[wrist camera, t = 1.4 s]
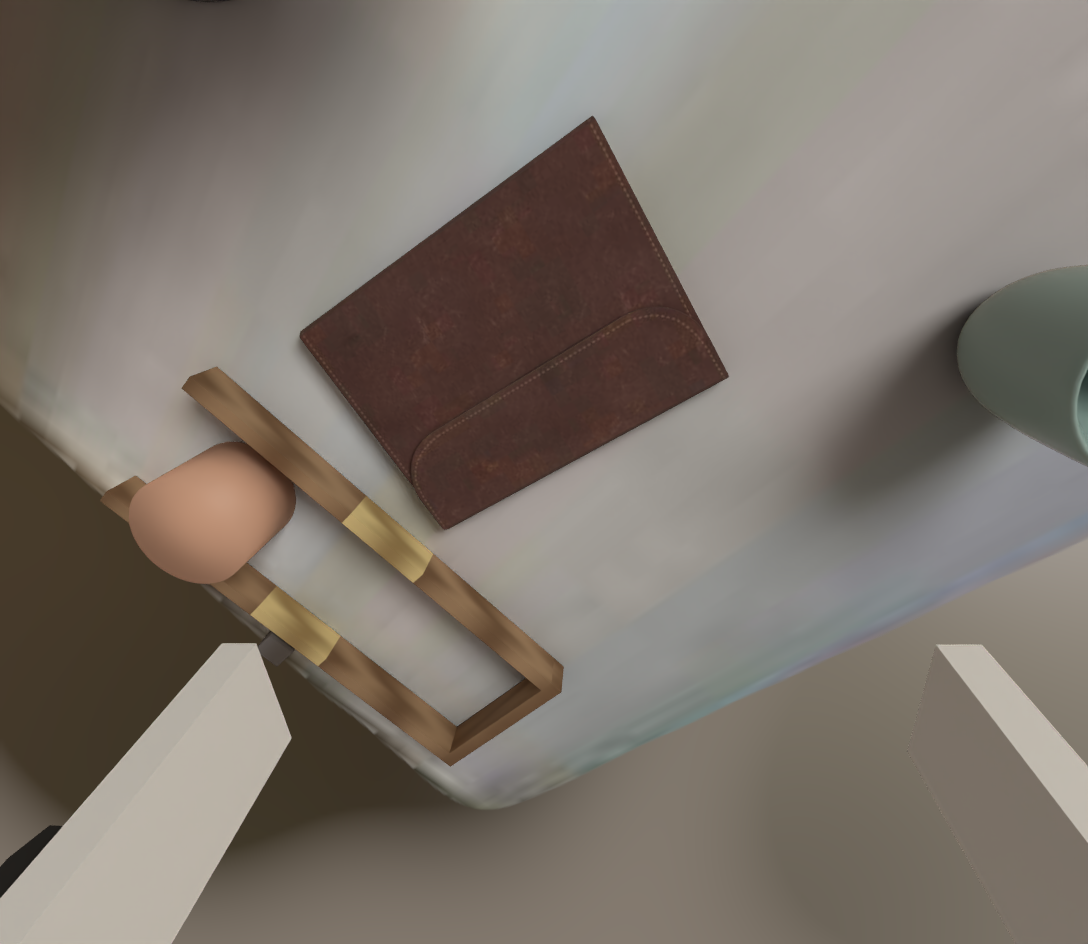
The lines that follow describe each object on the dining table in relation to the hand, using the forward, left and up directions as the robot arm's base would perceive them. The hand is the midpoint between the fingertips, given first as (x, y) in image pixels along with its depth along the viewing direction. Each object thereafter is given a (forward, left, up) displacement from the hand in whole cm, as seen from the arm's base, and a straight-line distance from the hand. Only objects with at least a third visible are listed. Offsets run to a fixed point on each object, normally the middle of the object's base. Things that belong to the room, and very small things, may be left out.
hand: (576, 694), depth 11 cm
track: (-1, -23, -24) cm, 34 cm away
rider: (-11, -22, -24) cm, 34 cm away
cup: (+13, +18, -24) cm, 33 cm away
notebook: (-5, -2, -25) cm, 25 cm away
